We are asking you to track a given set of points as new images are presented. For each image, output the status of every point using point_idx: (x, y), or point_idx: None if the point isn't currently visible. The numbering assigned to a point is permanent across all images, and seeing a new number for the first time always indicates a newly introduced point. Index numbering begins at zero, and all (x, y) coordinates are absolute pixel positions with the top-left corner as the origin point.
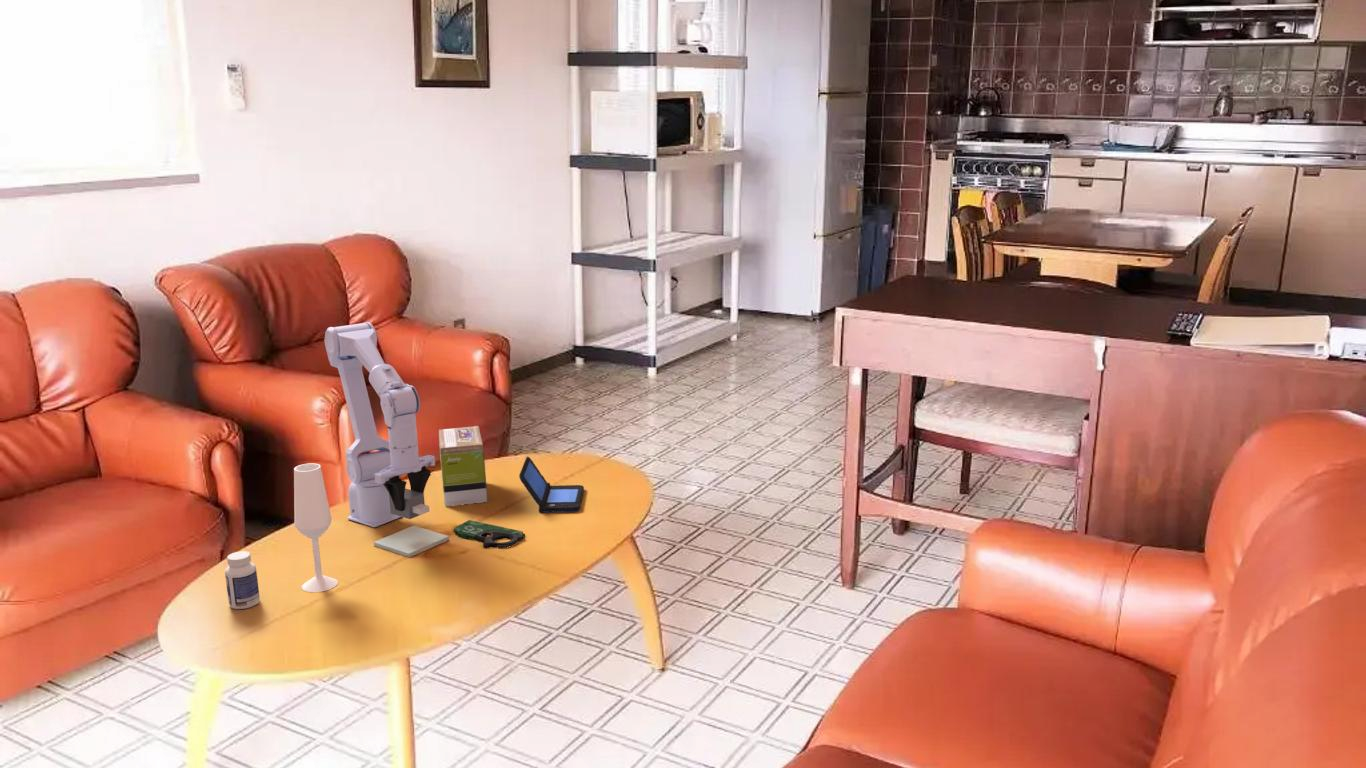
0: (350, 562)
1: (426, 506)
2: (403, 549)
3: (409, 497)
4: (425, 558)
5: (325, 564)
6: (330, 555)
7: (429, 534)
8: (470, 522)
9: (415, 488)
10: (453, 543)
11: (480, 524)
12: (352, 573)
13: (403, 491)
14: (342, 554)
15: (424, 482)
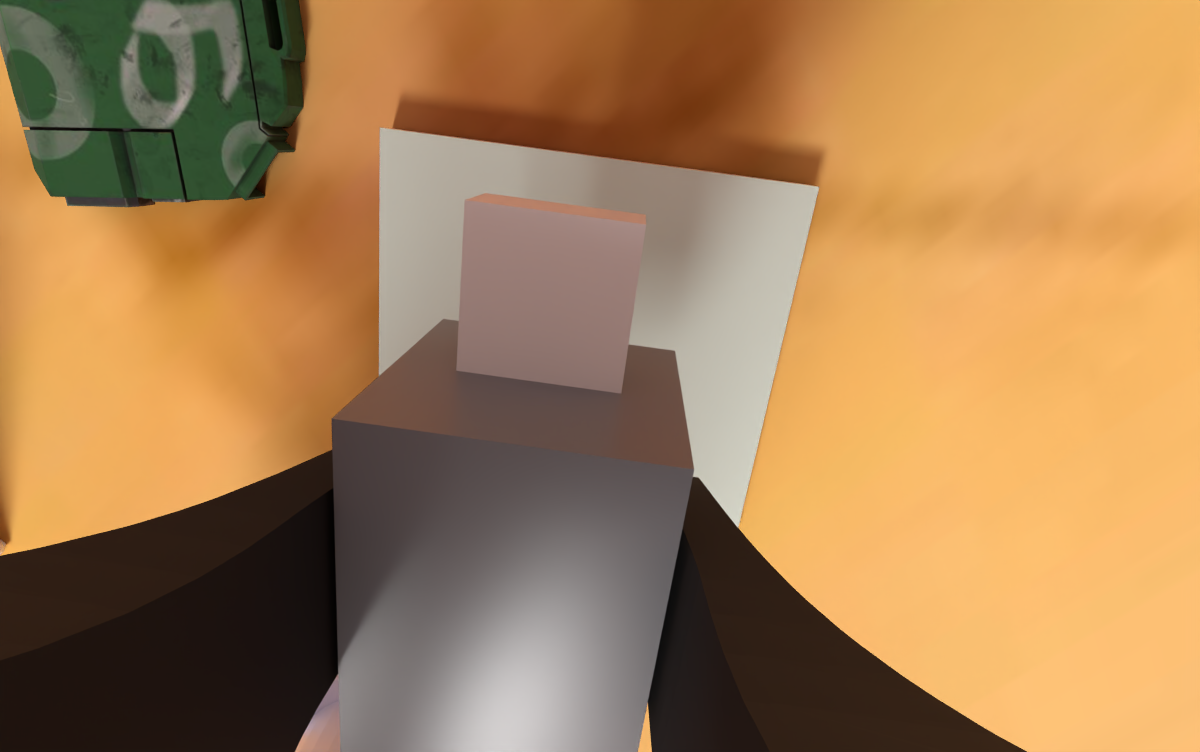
0: (1017, 500)
1: (503, 221)
2: (762, 286)
3: (609, 507)
4: (781, 40)
5: (1086, 608)
6: (950, 662)
7: (438, 299)
8: (76, 147)
9: (305, 630)
10: (427, 36)
11: (43, 27)
12: (1195, 370)
13: (747, 635)
14: (914, 616)
15: (125, 557)
